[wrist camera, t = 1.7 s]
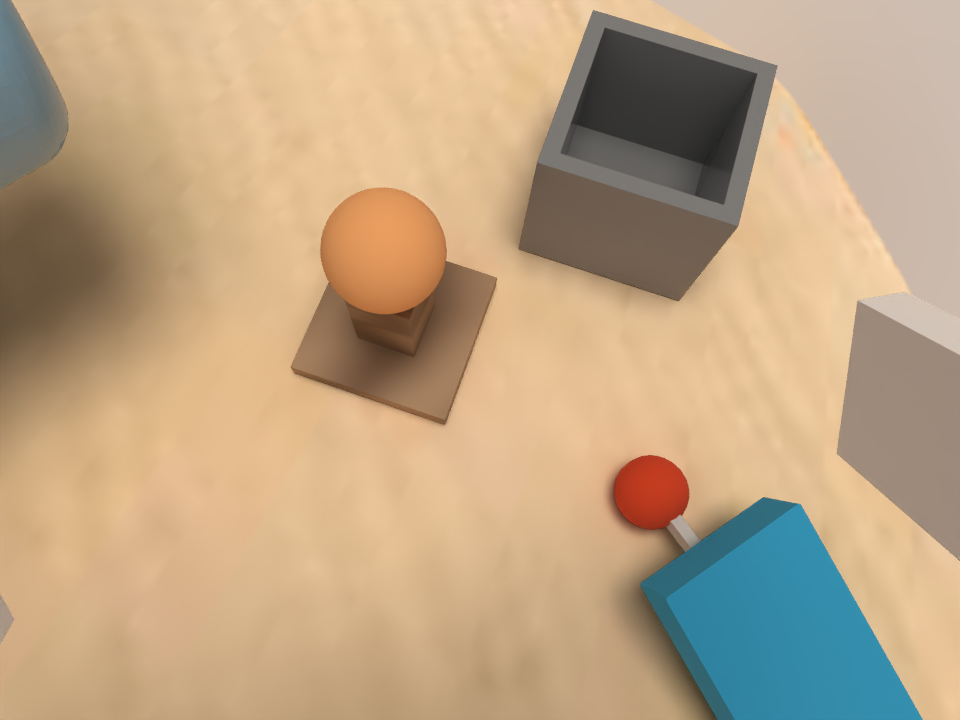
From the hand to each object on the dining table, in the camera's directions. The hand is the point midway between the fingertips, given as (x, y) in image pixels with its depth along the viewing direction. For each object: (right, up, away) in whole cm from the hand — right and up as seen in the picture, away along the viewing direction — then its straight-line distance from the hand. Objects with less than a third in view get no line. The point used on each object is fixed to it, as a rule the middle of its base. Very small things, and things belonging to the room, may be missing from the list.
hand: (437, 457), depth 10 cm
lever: (+13, -12, +22) cm, 28 cm away
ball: (-3, +6, +18) cm, 19 cm away
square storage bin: (+8, +10, +29) cm, 32 cm away
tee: (-4, +3, +26) cm, 26 cm away
